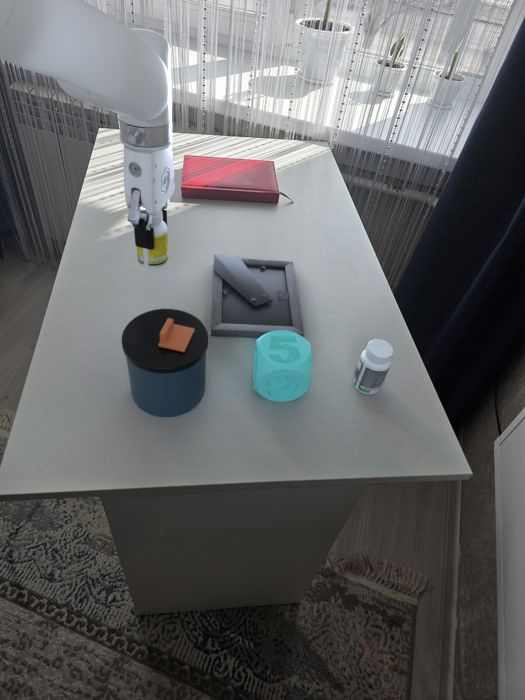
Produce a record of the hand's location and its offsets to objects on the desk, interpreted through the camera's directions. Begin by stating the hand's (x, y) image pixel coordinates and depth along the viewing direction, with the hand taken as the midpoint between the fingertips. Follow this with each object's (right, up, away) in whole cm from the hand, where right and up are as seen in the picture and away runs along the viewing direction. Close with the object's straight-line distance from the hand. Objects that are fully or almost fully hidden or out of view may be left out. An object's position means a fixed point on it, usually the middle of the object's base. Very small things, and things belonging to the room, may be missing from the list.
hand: (151, 237), depth 81 cm
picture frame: (+18, -10, +7) cm, 22 cm away
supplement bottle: (-1, -4, +4) cm, 5 cm away
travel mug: (+5, -25, -10) cm, 28 cm away
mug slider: (+8, -18, -18) cm, 27 cm away
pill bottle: (+36, -25, -5) cm, 44 cm away
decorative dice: (+22, -25, -7) cm, 34 cm away
